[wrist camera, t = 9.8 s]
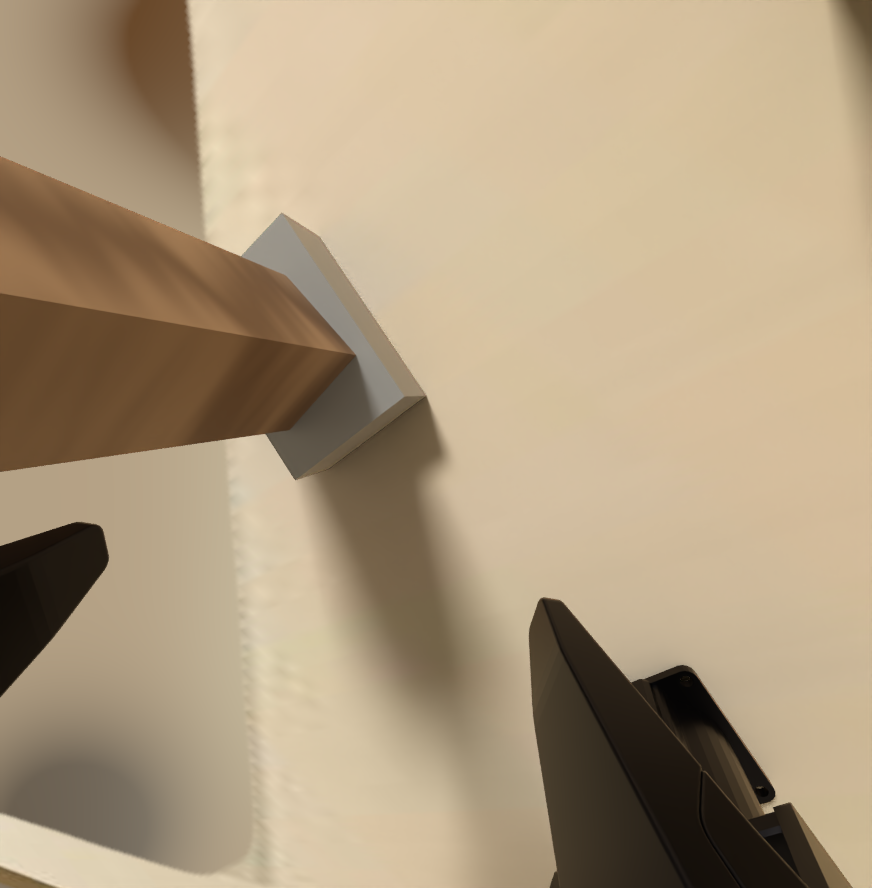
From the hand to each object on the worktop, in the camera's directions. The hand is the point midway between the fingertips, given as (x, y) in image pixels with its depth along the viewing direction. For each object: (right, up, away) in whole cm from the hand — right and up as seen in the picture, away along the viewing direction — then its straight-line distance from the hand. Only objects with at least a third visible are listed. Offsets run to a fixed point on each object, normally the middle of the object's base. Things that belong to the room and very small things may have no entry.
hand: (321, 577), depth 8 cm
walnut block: (-5, +7, +11) cm, 14 cm away
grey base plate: (-4, +7, +14) cm, 16 cm away
